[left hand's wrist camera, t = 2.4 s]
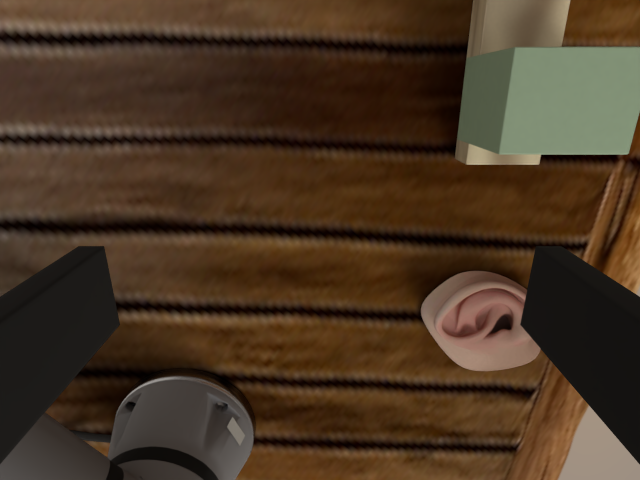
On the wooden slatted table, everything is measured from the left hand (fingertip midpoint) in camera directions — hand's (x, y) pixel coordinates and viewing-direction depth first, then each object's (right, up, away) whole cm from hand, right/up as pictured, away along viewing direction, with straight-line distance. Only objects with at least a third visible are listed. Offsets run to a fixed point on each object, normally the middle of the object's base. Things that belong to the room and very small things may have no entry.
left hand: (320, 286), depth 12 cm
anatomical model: (+17, -7, +29) cm, 34 cm away
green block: (+15, +12, +19) cm, 27 cm away
